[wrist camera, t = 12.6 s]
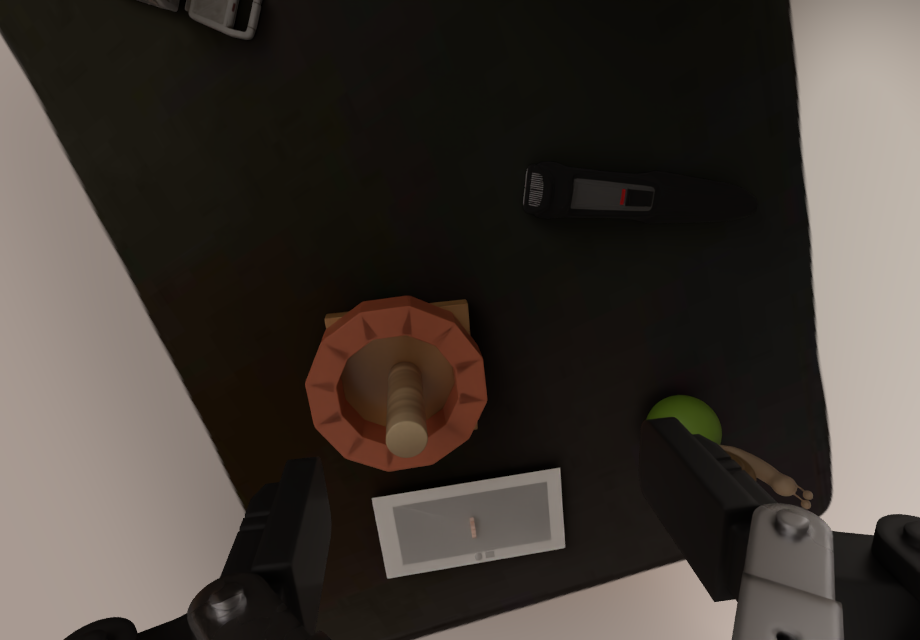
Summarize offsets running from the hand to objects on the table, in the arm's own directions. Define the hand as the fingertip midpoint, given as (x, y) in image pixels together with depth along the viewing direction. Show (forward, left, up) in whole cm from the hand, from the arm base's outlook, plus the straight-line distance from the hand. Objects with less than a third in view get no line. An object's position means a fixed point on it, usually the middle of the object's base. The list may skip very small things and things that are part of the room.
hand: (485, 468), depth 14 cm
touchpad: (+22, +1, -27) cm, 35 cm away
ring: (+8, -3, -25) cm, 27 cm away
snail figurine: (+15, +18, -27) cm, 36 cm away
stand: (+8, -3, -27) cm, 28 cm away
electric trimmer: (-3, +14, -27) cm, 30 cm away
